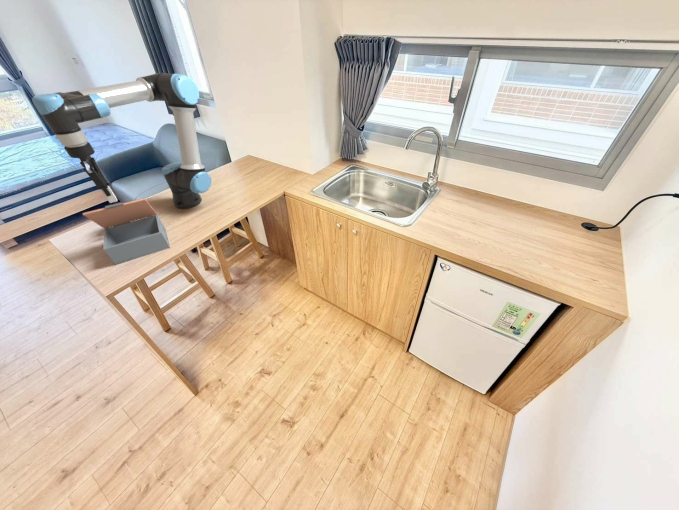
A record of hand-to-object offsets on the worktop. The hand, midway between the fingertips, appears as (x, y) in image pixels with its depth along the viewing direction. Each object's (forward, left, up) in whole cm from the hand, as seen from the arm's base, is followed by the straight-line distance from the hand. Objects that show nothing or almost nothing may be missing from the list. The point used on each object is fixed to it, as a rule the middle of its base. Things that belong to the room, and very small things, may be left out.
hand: (113, 201), depth 111 cm
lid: (-3, 0, -8) cm, 8 cm away
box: (0, 0, -24) cm, 24 cm away
